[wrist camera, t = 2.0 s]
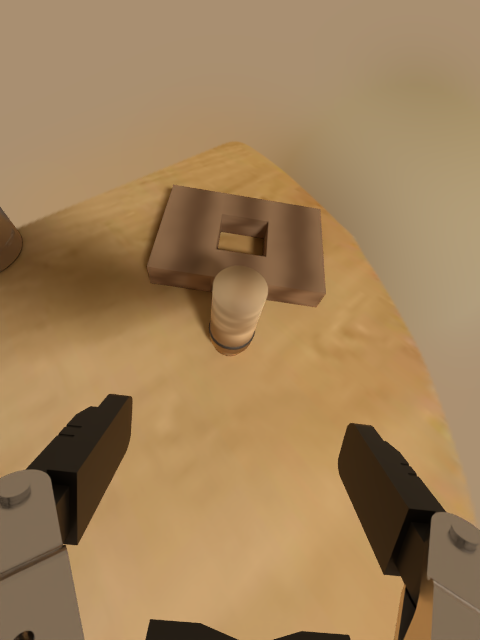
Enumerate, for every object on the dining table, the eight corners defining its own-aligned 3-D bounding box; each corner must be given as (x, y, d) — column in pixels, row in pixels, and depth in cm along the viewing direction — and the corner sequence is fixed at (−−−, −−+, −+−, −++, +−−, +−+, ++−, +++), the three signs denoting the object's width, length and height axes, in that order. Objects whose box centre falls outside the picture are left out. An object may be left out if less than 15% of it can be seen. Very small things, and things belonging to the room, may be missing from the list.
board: (150, 282, 34) (146, 266, 31) (175, 203, 41) (173, 184, 38) (316, 307, 35) (325, 293, 32) (312, 226, 42) (320, 209, 39)
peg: (205, 357, 30) (207, 308, 21) (211, 319, 32) (215, 261, 24) (248, 362, 30) (268, 316, 22) (251, 325, 33) (270, 269, 24)
